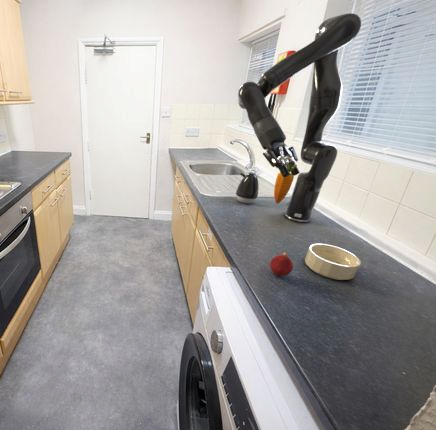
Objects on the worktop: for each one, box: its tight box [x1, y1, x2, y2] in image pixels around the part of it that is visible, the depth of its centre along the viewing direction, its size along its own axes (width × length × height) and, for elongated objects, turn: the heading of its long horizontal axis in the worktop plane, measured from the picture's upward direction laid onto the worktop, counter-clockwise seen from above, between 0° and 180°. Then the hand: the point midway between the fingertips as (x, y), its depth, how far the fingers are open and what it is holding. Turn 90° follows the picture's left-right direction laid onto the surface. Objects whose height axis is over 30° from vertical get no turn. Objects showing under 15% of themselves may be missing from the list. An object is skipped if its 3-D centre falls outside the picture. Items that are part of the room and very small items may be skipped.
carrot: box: [273, 162, 298, 205], centre depth 92 cm, size 5×5×15 cm
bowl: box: [304, 243, 362, 281], centre depth 83 cm, size 13×13×6 cm
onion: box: [269, 252, 294, 277], centre depth 79 cm, size 6×6×8 cm
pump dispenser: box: [235, 172, 260, 204], centre depth 133 cm, size 10×10×15 cm
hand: (291, 175), depth 89 cm, fingers closed on carrot, 4 cm apart
